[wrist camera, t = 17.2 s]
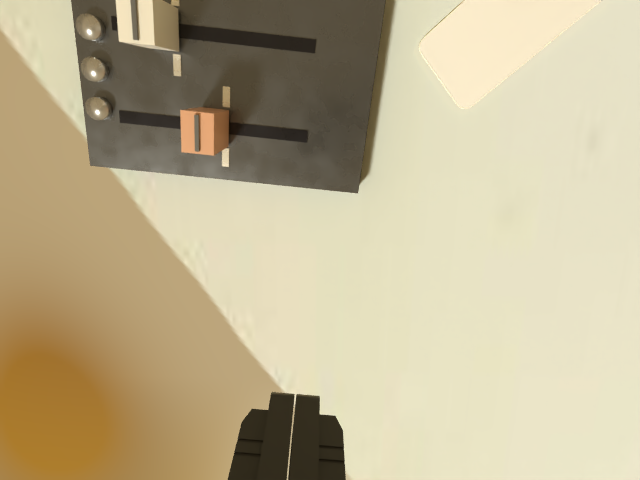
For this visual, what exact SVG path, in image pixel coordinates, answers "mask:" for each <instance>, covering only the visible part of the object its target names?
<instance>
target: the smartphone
mask: <svg viewBox="0 0 640 480" xmlns="http://www.w3.org/2000/svg"><path fill="white" fill-rule="evenodd" d="M601 1H602V0H464V1H463V2H462V3H461V4H460V5H458V6H457V7H456V8H455V9H454V10H453V11H452V12H451V13H450V14H448V16H446V17H445V18H444V19H443V20H442V21H441V22H440V23H439V24H437V25H436V26H435V27H434V28H433V29H432V30H431V31H430V32H429V33H428V34H426V35H425V36H424V37H423V39H422V40H421V41H420V44H419V51H420V53H421V55H422V57H423V58H424V60H425V61H426V62H427V64H428V65H429V67H430V68H431V69H432V71H433V72H434V74H435V75H436V76H437V78H438V79H439V80H440V82H441V83H442V85H443V86H444V88H445V89H446V90H447V92H448V93H449V95H450V96H451V98H452V99H453V100H454V102H455V103H456V105H457V106H458V107H460V108H462V109H468V108H470V107H472V106H473V105H475V104H476V103H477V102H478V101H479V100H481V99H482V98H483V97H484V96H486V95H487V94H488V93H489V92H490V91H492V90H493V89H494V88H495V87H497V86H498V85H499V84H500V83H501V82H503V81H504V80H505V79H506V78H508V77H509V76H510V75H511V74H513V73H514V72H515V71H516V70H517V69H519V68H520V67H521V66H522V65H524V64H525V63H526V62H527V61H528V60H530V59H531V58H532V57H533V56H535V55H536V54H537V53H538V52H539V51H541V50H542V49H543V48H544V47H546V46H547V45H548V44H549V43H551V42H552V41H553V40H554V39H555V38H557V37H558V36H559V35H560V34H562V33H563V32H564V31H565V30H566V29H568V28H569V27H570V26H571V25H573V24H574V23H575V22H576V21H578V20H579V19H580V18H581V17H582V16H584V15H585V14H586V13H587V12H589V11H590V10H591V9H592V8H593V7H595V6H596V5H597V4H598V3H600V2H601Z"/></svg>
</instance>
